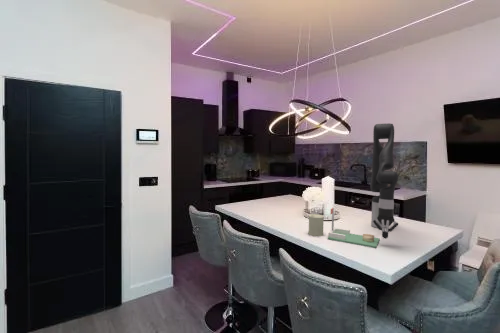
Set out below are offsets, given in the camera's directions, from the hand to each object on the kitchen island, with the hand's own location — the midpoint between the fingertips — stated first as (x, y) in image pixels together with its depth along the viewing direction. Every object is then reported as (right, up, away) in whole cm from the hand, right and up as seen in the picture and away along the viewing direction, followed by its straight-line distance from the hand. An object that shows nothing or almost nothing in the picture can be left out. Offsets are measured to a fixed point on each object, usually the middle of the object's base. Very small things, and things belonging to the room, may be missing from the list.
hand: (384, 238), depth 147 cm
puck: (-7, -3, +5) cm, 9 cm away
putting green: (-14, -3, +9) cm, 17 cm away
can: (-34, -3, +19) cm, 39 cm away
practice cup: (-20, -2, +13) cm, 24 cm away
